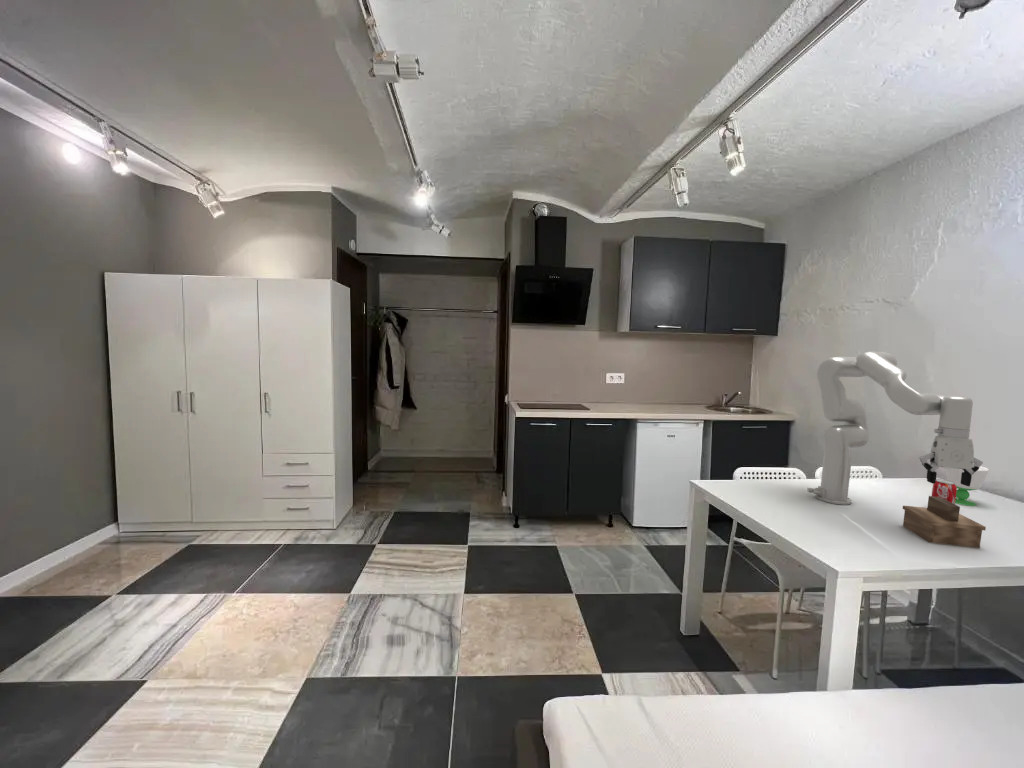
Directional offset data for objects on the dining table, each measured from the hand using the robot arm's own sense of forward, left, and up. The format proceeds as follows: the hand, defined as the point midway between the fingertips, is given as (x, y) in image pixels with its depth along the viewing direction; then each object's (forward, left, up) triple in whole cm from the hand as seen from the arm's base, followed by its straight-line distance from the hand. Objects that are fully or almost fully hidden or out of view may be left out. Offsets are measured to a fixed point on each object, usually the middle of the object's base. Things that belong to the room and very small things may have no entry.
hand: (948, 483), depth 155 cm
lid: (0, 0, -12) cm, 12 cm away
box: (0, 0, -19) cm, 19 cm away
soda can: (+21, +34, -20) cm, 45 cm away
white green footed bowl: (+37, +49, -20) cm, 65 cm away
